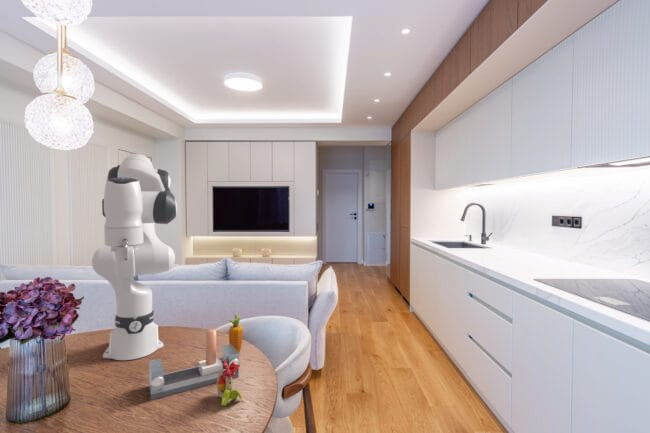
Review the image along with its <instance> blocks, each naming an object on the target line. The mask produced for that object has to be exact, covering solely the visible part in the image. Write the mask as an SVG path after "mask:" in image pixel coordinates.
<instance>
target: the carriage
mask: <svg viewBox="0 0 650 433" xmlns="http://www.w3.org/2000/svg"><path fill="white" fill-rule="evenodd" d="M205 332H206V333H205V359H204V360H200V361H199V360H198V366H199V372H200V374H201V376H205V375H209V374H213V373H217V372H220V371H221V370H223V363H222V362H221V360H222V359H220V358H219V356H218V357H217V329H216V328H210V329H207V330H206V331H205Z"/></svg>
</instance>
